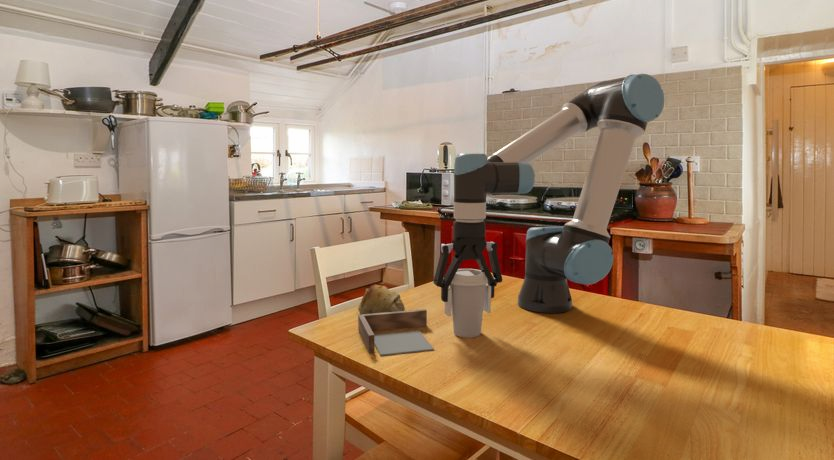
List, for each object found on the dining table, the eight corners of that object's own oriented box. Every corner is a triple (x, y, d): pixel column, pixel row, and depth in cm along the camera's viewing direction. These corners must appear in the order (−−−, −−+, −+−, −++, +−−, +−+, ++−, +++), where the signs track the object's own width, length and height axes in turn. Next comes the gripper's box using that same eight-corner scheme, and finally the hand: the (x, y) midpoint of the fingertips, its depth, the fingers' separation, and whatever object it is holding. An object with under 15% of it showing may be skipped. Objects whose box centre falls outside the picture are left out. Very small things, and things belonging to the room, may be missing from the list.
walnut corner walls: (425, 324, 121) (425, 309, 120) (444, 345, 107) (444, 328, 106) (358, 330, 116) (358, 314, 116) (369, 353, 102) (368, 335, 102)
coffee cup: (486, 341, 109) (487, 278, 107) (444, 338, 111) (445, 276, 109) (488, 327, 119) (489, 268, 116) (450, 325, 120) (450, 267, 118)
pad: (418, 331, 116) (418, 330, 116) (434, 350, 104) (434, 348, 104) (370, 336, 112) (370, 335, 112) (380, 355, 101) (380, 354, 101)
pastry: (350, 309, 134) (350, 281, 133) (391, 303, 140) (391, 276, 138) (370, 324, 121) (369, 293, 120) (413, 317, 127) (413, 287, 126)
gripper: (505, 217, 118) (502, 304, 121) (419, 219, 112) (419, 311, 115) (519, 220, 111) (516, 313, 114) (429, 223, 105) (428, 321, 108)
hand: (467, 312), depth 114 cm, fingers closed on coffee cup, 9 cm apart
